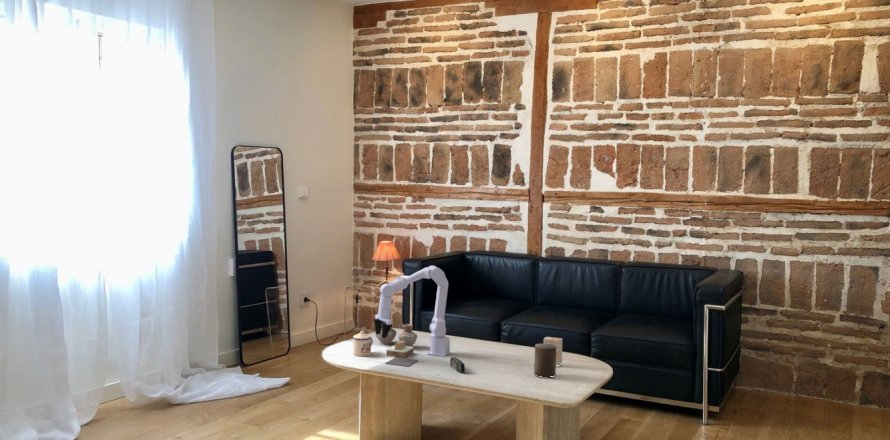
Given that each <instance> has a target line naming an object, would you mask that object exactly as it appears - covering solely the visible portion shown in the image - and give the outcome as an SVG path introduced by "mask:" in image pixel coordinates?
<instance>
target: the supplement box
mask: <svg viewBox="0 0 890 440" xmlns="http://www.w3.org/2000/svg"><path fill="white" fill-rule="evenodd" d="M545 343H546V344H553V345H555V346H556V365H560V364H561V363H562V364H563V338H562V337H552V336H546V337H544V338H543V344H545Z"/></svg>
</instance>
